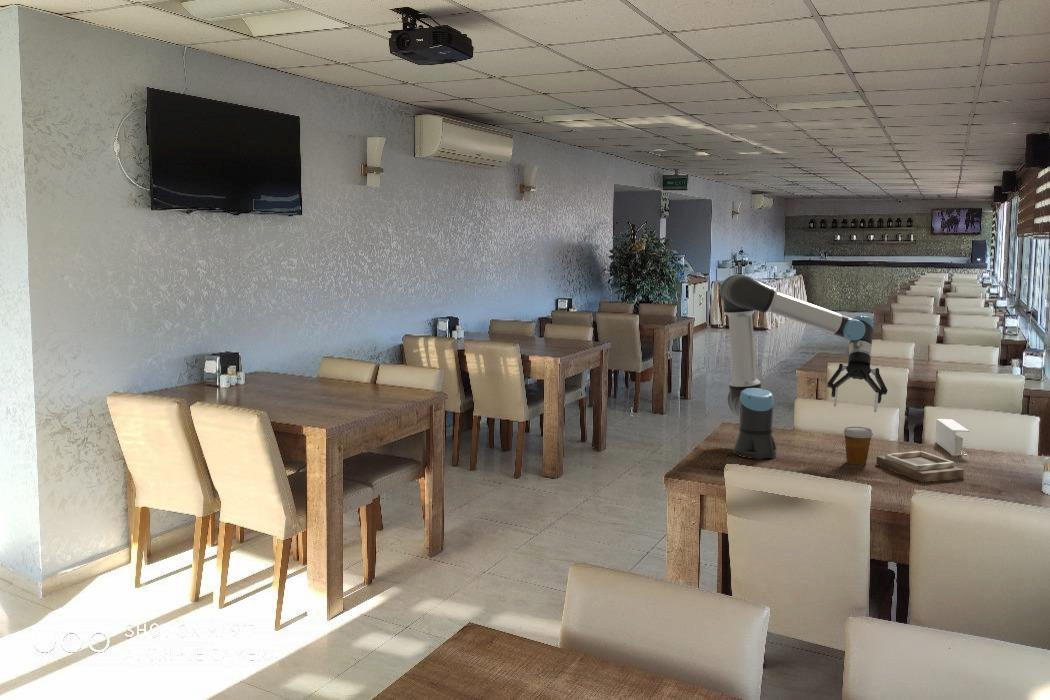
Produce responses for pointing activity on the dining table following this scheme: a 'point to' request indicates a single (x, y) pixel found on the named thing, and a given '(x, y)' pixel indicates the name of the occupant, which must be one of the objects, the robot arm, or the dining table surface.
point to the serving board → (921, 466)
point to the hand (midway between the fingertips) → (855, 407)
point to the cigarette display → (949, 435)
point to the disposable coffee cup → (857, 444)
